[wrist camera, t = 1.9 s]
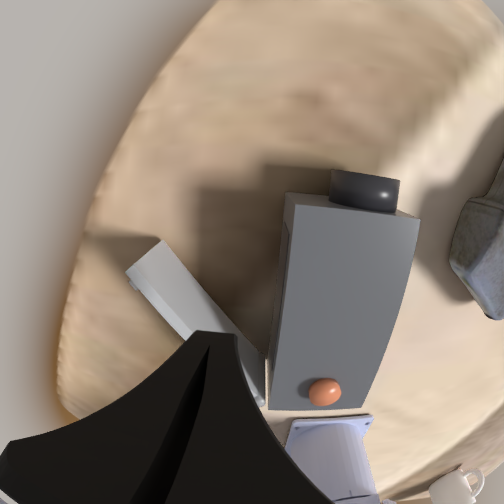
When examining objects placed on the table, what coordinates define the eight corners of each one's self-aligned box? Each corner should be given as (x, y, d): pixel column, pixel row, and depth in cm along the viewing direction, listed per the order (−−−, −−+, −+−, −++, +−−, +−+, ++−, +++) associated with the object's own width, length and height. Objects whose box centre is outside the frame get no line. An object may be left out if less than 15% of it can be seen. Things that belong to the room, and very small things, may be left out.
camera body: (344, 361, 20) (363, 414, 14) (266, 359, 20) (267, 417, 14) (383, 177, 15) (432, 187, 10) (286, 164, 16) (299, 165, 10)
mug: (468, 456, 28) (485, 492, 18) (480, 456, 29) (495, 488, 20) (421, 489, 32) (432, 525, 22) (437, 487, 33) (448, 519, 23)
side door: (267, 357, 19) (268, 404, 15) (253, 365, 20) (251, 411, 15) (164, 237, 17) (134, 263, 13) (150, 249, 17) (118, 277, 13)
